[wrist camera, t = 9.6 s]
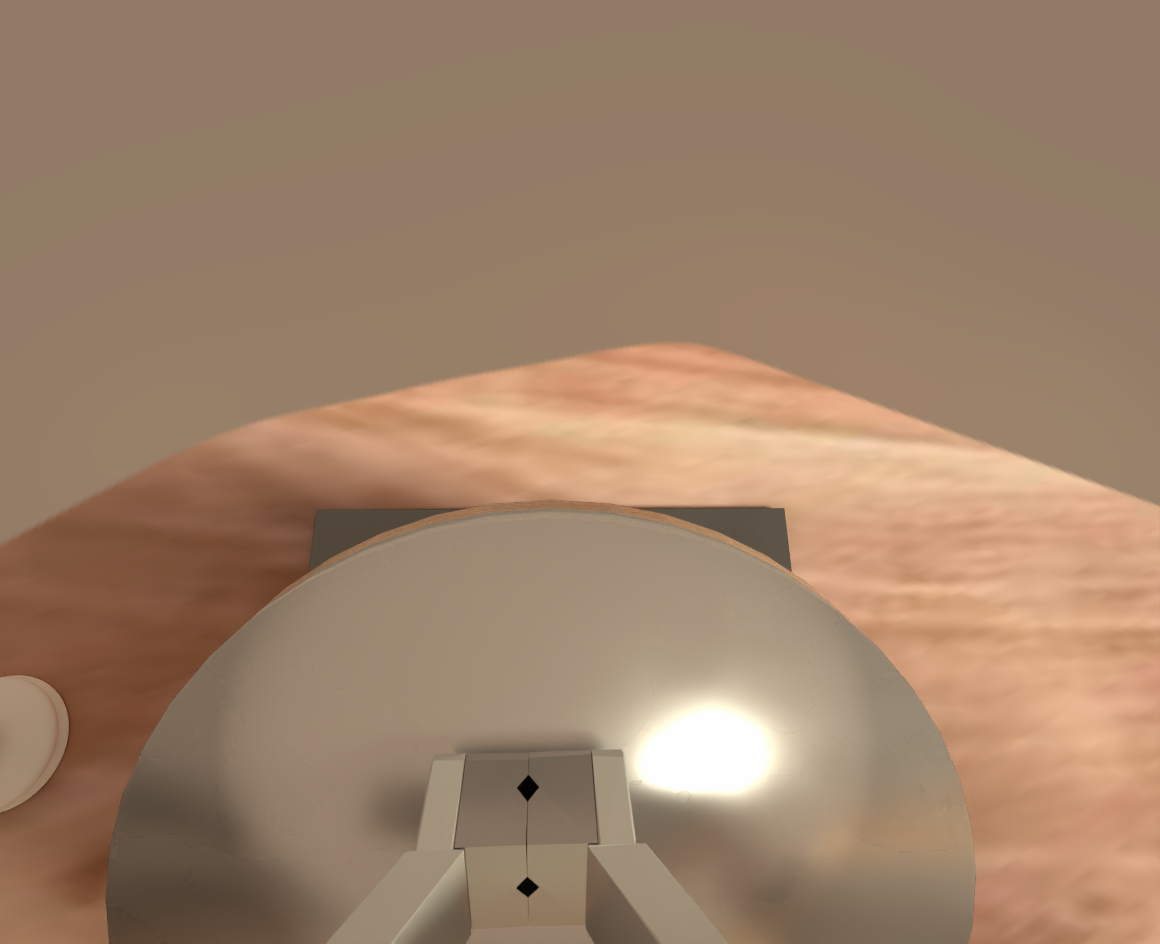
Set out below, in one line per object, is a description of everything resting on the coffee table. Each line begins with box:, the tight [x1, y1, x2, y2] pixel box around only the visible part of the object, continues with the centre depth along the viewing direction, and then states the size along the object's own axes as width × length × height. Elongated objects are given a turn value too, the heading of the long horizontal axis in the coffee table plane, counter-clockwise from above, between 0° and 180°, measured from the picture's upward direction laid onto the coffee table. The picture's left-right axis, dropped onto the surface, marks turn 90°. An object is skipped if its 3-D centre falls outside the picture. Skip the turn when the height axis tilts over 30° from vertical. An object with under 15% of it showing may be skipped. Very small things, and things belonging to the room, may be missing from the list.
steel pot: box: [309, 508, 792, 572], centre depth 21 cm, size 20×20×10 cm
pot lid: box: [106, 500, 976, 944], centre depth 11 cm, size 15×15×3 cm
